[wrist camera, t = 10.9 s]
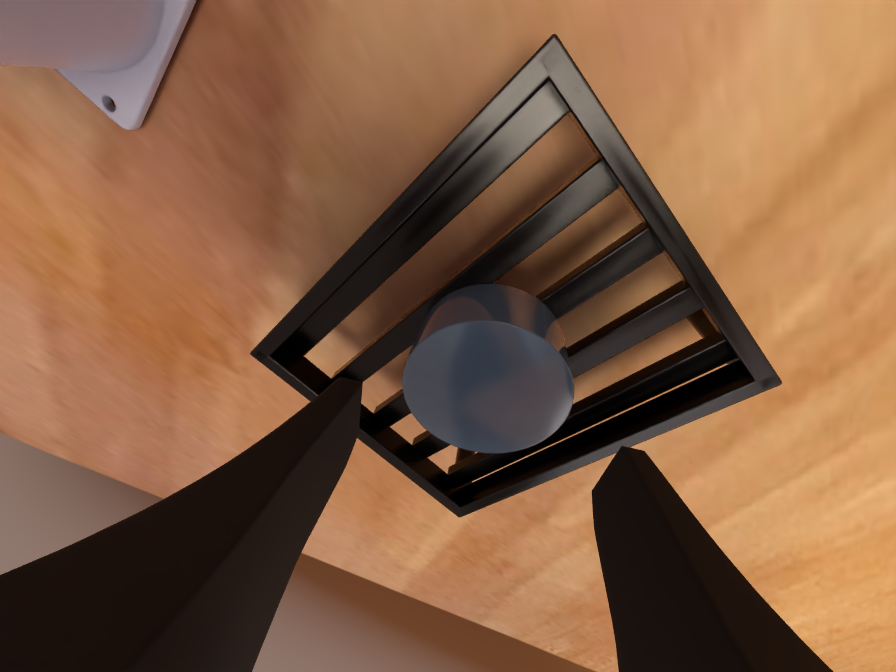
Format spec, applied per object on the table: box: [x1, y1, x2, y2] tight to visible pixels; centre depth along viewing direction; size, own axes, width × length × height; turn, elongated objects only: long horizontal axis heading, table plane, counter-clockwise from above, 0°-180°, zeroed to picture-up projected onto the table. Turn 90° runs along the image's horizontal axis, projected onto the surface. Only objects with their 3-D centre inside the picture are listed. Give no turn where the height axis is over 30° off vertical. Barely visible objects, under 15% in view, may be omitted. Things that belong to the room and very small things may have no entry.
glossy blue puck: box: [402, 284, 574, 453], centre depth 13 cm, size 6×6×3 cm
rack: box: [250, 34, 782, 517], centre depth 15 cm, size 12×14×4 cm
